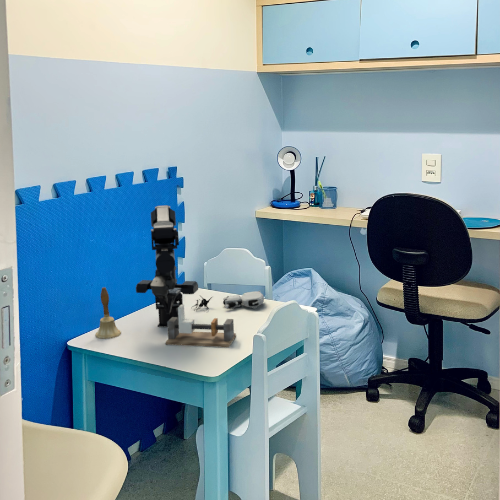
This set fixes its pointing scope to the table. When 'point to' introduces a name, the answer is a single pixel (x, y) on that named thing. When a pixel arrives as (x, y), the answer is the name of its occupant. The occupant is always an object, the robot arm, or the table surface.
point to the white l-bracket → (184, 321)
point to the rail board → (201, 334)
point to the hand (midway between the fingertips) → (168, 313)
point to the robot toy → (244, 300)
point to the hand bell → (107, 320)
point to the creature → (202, 303)
